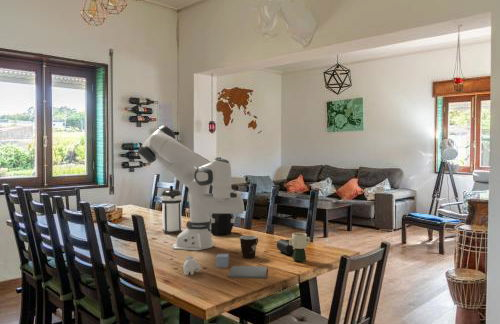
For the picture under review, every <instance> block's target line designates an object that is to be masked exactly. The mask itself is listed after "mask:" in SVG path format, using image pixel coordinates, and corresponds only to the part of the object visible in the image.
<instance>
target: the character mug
mask: <svg viewBox="0 0 500 324" xmlns="http://www.w3.org/2000/svg"><path fill="white" fill-rule="evenodd" d="M288 240H289V245H292V246H293V249H294V254H293V256H292V260H294V261H296V262H304V261H306V260H307V256H306V250H305V249H307V247H308V246H307V245H308V244H309V245H310V241H311V238H310V236H308V234H307V233H306V232H293V233H292V234H291V238H289V239H288ZM291 242H292V243H291Z"/></svg>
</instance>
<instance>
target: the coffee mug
mask: <svg viewBox="0 0 500 324" xmlns="http://www.w3.org/2000/svg"><path fill="white" fill-rule="evenodd" d="M239 242H240V249H241V257H242V258H243V259H246V260H248V259H249V260H251V259H255V258H256V252H257V251H256V249H257V245H258V244H259V238H258V236H255V235H252V234H251V235H250V234H249V235H248V234H247V235H241V236H240V237H239Z"/></svg>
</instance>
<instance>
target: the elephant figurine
mask: <svg viewBox="0 0 500 324" xmlns="http://www.w3.org/2000/svg"><path fill="white" fill-rule="evenodd" d="M180 266H181V267H182V269H183V273H184V275H185V276H188V275H194V274H195V271H196V272H197V273H198V272H200V270H203V268H202V267H203V266H202V265H200V264H199V263H198V261H197V259H195V258H194V256H192V255H191V254H190V255H187V256H186V257H185V259H184V263H183V264H180Z"/></svg>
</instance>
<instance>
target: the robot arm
mask: <svg viewBox="0 0 500 324" xmlns="http://www.w3.org/2000/svg"><path fill="white" fill-rule="evenodd" d="M137 154H138V156H139V157H140V159H141V160H142V161H144V162H146V163H148V164H152V163H154V162H158V163H159V165H160V166H162V168H164V169H165V170H166V171H167V172H168V174H170V175H171V176H172V177H173V178H175V180H177V182H179V183H182V185H184V186H185V187H187V188H188V201H189V220H187V222H186V223H185V224H186V228H185V229H183V230H182V232H181V231H180V232H181V233H179V234H178V235H177V237H176V242H175V243H173V244H172V245H171V248H172V249H173V250H187V251H200V250H201V251H202V250H205V249H210V248H212V247H214V243H213V239H212V233H211V223H215V221H214V220H215V219H213V218H212V216H211V215H212V213H223V214H231V215H232V217H233V219H231V223H234V224H235V222H236V221H235V219H236V217H237V215H238V214H243V213H244V212H245V205H244V204H245V203H244V199H243V198H242V192H241V191H238V190H236V189H232V184H231V181H232V169H231V168H232V167H231V163H230V161H229V160H228V159H227V158H226V159H224V158H214V159H212V160H211V161H210V160H209V159H207V158H205V157H203V156H202V155H200V154H199V153H196V152H195V151H193V150H191V149H190V148H189V147H187V146H185V145H184V144H182V143H181V142H180V141H178V140H176V134H175V132H174V131H173V129H172V128H170V127H169V126H167V125H160V126H159V127H158V128H157V129H156V130H155V131H154V132H152V134H150V135H149V136H148V138H146V140H145V141H144V142H143V144H142V145H141V146H139V148H138V150H137ZM211 186H212V193H211V192H210V187H211ZM210 219H211V221H210Z"/></svg>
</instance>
